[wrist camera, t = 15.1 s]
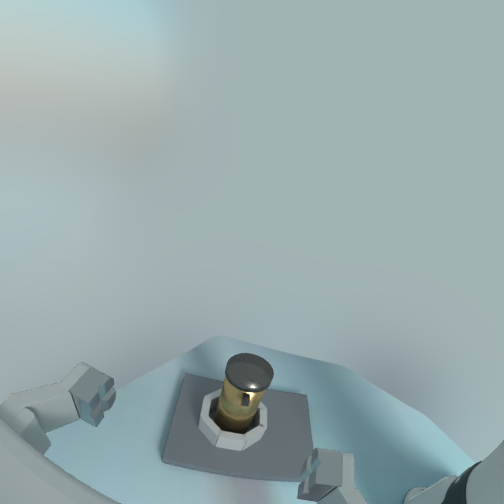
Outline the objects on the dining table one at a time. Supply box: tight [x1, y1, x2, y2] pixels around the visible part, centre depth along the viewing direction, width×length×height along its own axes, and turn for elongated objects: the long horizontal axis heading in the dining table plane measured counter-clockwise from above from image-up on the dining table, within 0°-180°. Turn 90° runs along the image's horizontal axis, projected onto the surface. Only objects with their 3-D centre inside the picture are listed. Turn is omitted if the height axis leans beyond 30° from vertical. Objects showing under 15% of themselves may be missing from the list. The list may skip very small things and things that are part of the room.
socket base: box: [162, 373, 313, 482], centre depth 36 cm, size 20×16×4 cm
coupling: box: [213, 353, 274, 434], centre depth 34 cm, size 8×5×12 cm
